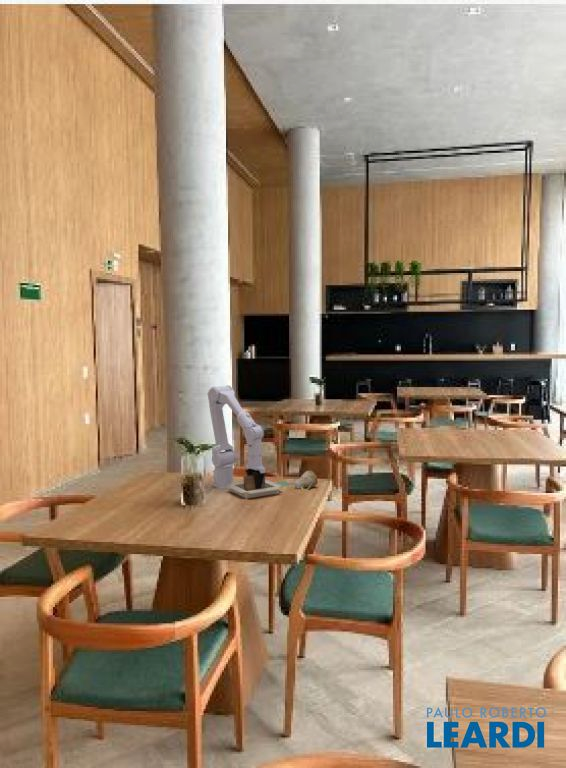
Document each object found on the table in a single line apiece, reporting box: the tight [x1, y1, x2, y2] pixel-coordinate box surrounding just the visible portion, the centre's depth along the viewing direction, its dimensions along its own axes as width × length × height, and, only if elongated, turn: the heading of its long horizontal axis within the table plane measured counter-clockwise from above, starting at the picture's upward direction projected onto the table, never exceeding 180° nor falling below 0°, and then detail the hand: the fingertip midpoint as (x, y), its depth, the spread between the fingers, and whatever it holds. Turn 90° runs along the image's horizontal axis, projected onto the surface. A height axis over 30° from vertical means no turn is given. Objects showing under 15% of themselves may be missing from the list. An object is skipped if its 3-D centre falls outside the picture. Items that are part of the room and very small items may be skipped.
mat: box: [275, 480, 295, 487], centre depth 264 cm, size 8×8×1 cm
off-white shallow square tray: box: [226, 479, 284, 500], centre depth 251 cm, size 21×19×3 cm
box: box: [242, 474, 266, 491], centre depth 251 cm, size 4×8×7 cm, turn 119°
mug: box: [294, 470, 319, 491], centre depth 258 cm, size 8×10×10 cm
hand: (256, 487), depth 251 cm, fingers closed on box, 4 cm apart
